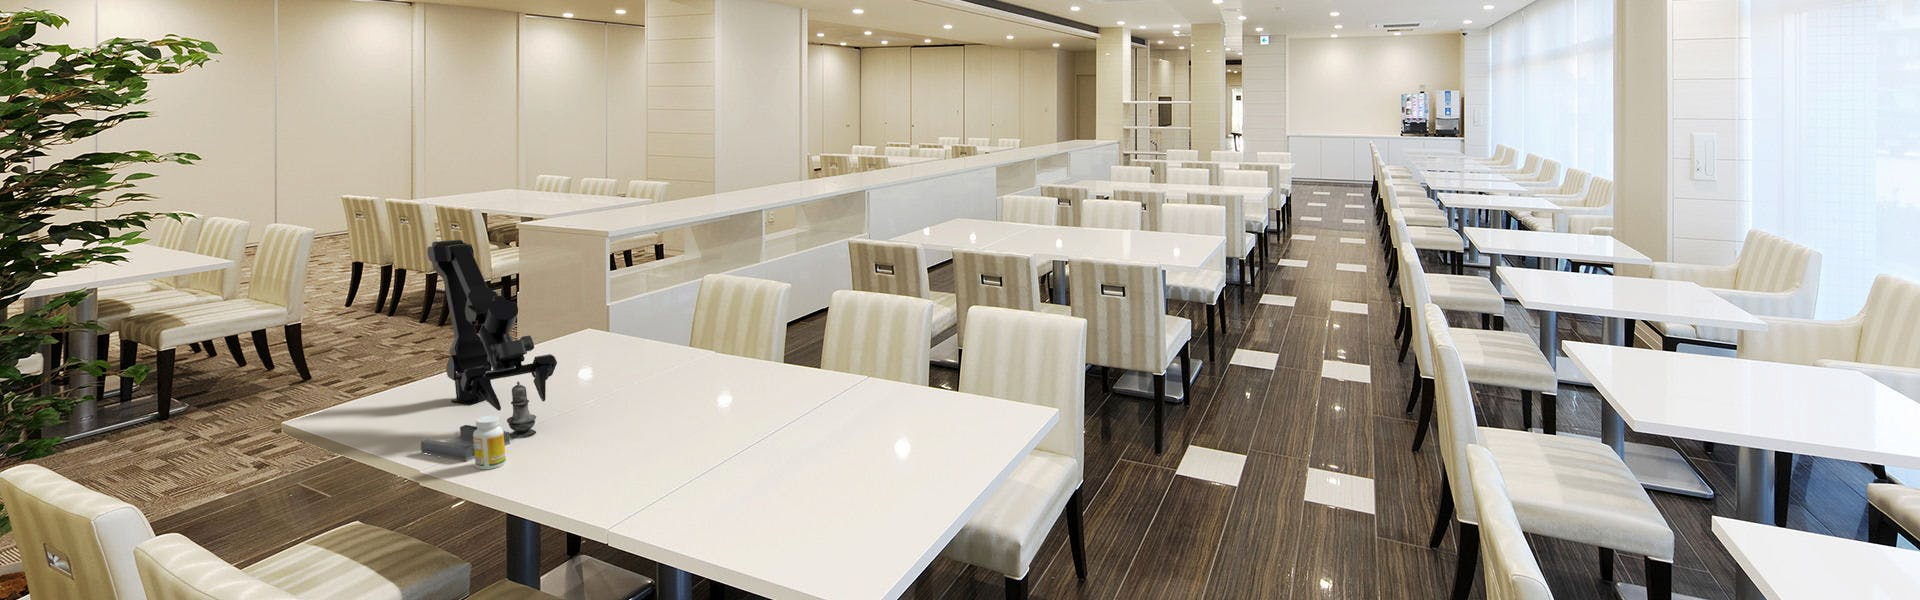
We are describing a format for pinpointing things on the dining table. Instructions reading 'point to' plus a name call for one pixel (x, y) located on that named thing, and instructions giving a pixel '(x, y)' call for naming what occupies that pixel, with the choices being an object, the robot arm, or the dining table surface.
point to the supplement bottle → (489, 443)
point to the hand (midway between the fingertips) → (522, 404)
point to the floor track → (456, 445)
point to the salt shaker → (521, 414)
